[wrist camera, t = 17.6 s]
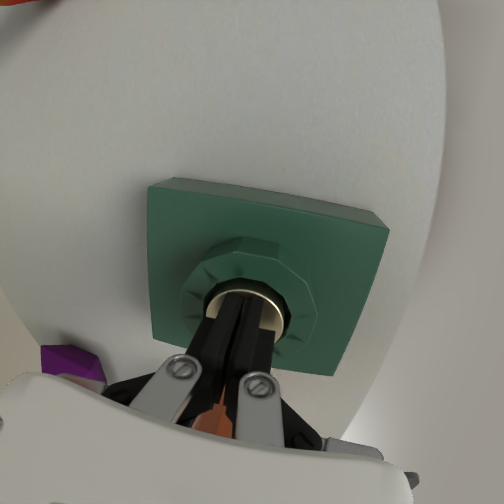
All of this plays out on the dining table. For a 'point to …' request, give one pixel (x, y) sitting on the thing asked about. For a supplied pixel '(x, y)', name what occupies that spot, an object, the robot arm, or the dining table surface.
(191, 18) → the dining table surface
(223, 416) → the cup
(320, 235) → the push button base
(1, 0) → the apple
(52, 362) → the perfume bottle
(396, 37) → the dining table surface
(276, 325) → the metal button cap
